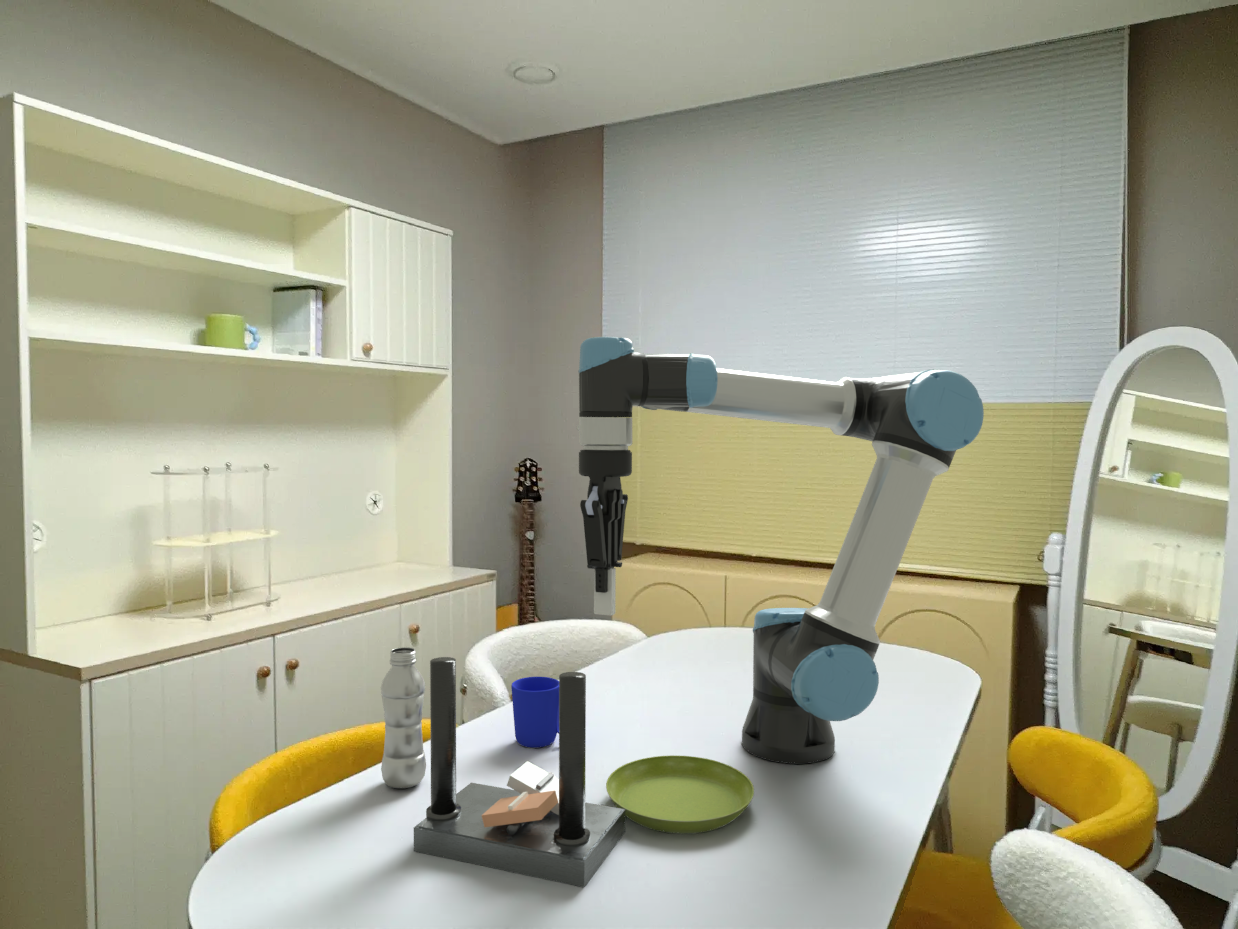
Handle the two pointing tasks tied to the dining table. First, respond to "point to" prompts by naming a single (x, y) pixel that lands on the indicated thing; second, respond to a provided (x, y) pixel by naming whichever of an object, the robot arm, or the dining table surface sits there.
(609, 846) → the twin post stand
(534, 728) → the mug
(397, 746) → the plastic bottle
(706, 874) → the dining table surface
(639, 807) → the saucer
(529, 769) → the paddle
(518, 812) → the paddle
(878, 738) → the dining table surface
